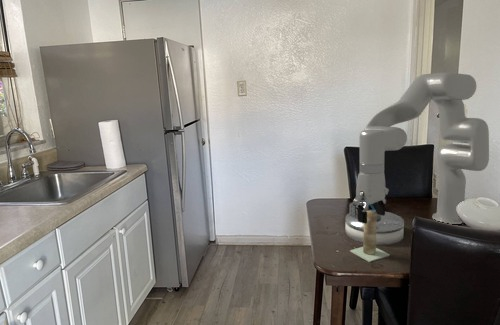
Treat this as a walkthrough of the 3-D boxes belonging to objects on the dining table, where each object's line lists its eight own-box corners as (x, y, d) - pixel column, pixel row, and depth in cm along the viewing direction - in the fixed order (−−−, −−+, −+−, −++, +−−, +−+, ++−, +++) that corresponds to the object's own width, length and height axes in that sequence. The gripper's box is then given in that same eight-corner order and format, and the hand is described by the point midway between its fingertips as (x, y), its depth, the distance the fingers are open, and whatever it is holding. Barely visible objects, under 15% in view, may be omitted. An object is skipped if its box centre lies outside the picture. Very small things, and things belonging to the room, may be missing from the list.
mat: (369, 245, 123) (369, 244, 123) (389, 255, 115) (389, 254, 115) (349, 251, 119) (349, 250, 119) (369, 262, 111) (369, 261, 111)
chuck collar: (415, 223, 130) (415, 209, 129) (381, 238, 119) (382, 222, 118) (367, 209, 147) (367, 197, 146) (334, 221, 136) (334, 208, 134)
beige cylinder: (361, 252, 117) (361, 212, 115) (367, 248, 120) (368, 209, 117) (372, 256, 114) (373, 215, 112) (378, 252, 117) (379, 212, 114)
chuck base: (373, 219, 148) (373, 210, 147) (416, 236, 129) (416, 226, 128) (334, 229, 139) (334, 220, 138) (373, 249, 120) (374, 238, 119)
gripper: (377, 162, 120) (377, 209, 123) (344, 171, 110) (345, 222, 113) (397, 165, 114) (396, 214, 117) (365, 175, 104) (365, 228, 107)
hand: (371, 218), depth 115 cm, fingers open, 9 cm apart
